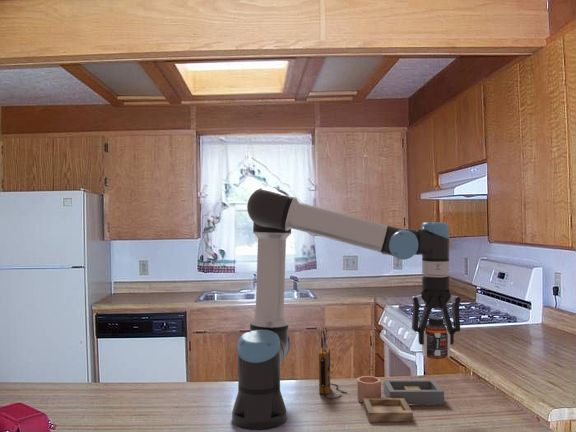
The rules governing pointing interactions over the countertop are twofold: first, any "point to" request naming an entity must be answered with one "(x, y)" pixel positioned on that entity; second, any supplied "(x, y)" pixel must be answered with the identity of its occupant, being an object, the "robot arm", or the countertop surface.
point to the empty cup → (368, 387)
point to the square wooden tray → (387, 409)
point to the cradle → (415, 391)
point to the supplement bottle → (436, 338)
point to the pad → (411, 388)
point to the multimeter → (325, 369)
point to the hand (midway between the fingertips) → (436, 355)
